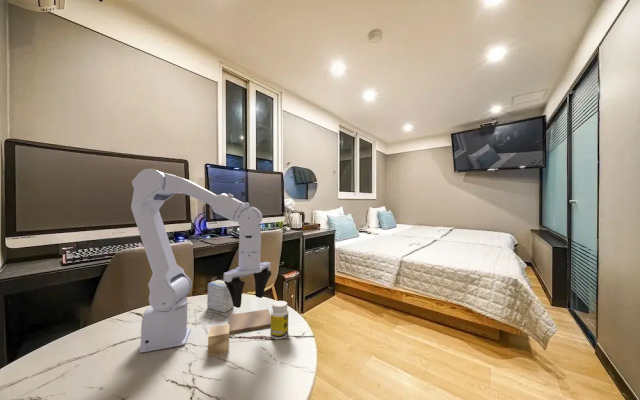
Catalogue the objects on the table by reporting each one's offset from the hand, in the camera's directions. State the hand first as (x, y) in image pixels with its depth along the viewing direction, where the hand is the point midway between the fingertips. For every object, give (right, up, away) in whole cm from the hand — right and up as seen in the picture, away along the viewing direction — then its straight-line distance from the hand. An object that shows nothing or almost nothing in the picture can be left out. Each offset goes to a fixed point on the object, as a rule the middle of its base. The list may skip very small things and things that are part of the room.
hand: (248, 301), depth 62 cm
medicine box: (-15, -10, +16) cm, 24 cm away
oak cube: (-5, -9, -6) cm, 12 cm away
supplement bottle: (+8, -9, 0) cm, 12 cm away
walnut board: (-2, -9, +7) cm, 12 cm away
